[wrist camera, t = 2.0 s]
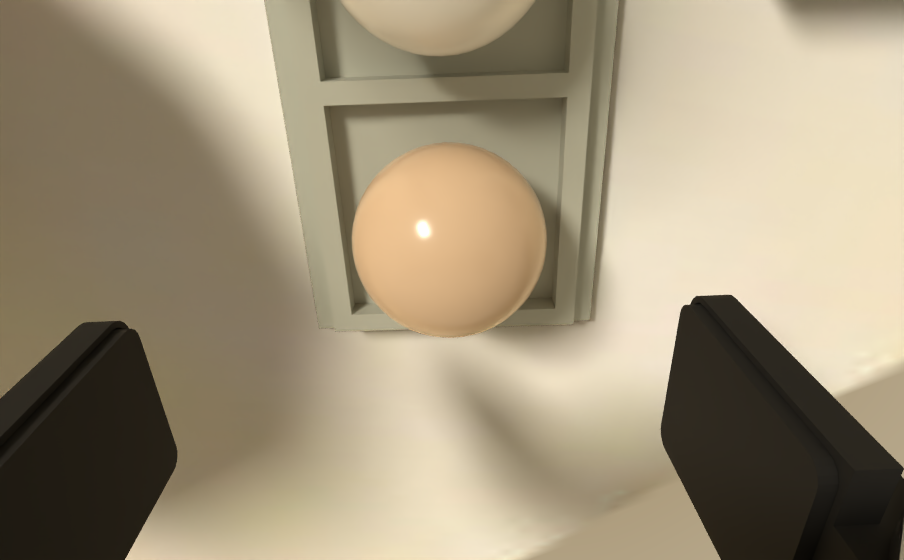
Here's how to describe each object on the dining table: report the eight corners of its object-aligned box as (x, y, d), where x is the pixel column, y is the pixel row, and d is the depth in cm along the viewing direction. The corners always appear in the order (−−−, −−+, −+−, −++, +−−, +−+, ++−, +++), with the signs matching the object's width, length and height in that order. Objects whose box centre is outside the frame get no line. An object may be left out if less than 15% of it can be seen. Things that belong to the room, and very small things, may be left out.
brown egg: (536, 119, 16) (569, 171, 11) (530, 279, 18) (557, 374, 14) (356, 125, 16) (320, 180, 11) (374, 284, 18) (349, 380, 14)
